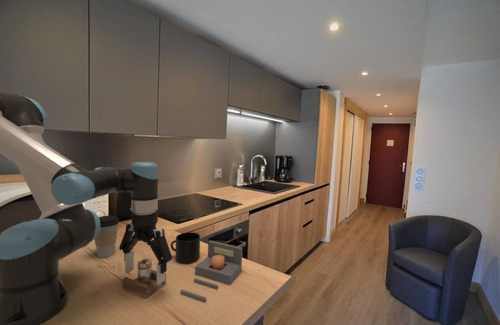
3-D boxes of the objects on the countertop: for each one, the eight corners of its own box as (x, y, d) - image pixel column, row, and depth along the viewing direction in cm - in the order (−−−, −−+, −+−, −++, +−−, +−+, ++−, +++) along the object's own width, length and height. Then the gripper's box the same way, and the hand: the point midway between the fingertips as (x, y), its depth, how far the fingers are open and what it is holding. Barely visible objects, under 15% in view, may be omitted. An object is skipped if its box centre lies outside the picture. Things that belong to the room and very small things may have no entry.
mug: (175, 251, 99) (176, 230, 99) (202, 254, 98) (203, 233, 97) (165, 262, 90) (165, 239, 89) (194, 265, 89) (195, 242, 88)
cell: (144, 288, 72) (144, 264, 71) (134, 285, 73) (134, 261, 73) (154, 281, 75) (154, 258, 75) (145, 278, 77) (145, 256, 76)
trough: (146, 298, 69) (146, 287, 68) (122, 289, 73) (122, 278, 72) (165, 284, 76) (165, 274, 76) (143, 276, 80) (143, 266, 80)
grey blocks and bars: (212, 304, 67) (212, 275, 66) (173, 291, 72) (174, 263, 72) (241, 271, 85) (242, 247, 85) (209, 262, 91) (209, 240, 90)
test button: (220, 272, 80) (220, 261, 80) (209, 269, 82) (209, 258, 82) (226, 266, 84) (226, 256, 84) (215, 264, 86) (216, 253, 86)
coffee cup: (88, 260, 89) (87, 222, 88) (97, 250, 98) (97, 215, 97) (115, 258, 91) (115, 221, 90) (122, 248, 100) (122, 214, 99)
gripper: (184, 214, 71) (183, 280, 73) (127, 203, 81) (127, 262, 82) (167, 221, 64) (166, 294, 66) (106, 208, 74) (107, 272, 76)
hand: (144, 276), depth 74 cm, fingers open, 13 cm apart
